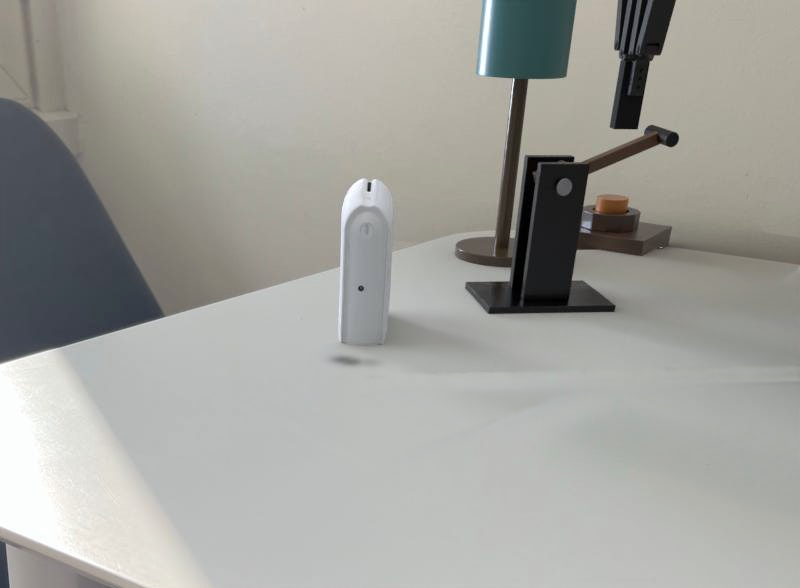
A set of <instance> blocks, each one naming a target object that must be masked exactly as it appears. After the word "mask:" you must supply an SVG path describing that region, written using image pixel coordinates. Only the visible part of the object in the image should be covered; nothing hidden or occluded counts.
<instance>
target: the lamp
mask: <svg viewBox="0 0 800 588" xmlns="http://www.w3.org/2000/svg"><path fill="white" fill-rule="evenodd" d="M577 2H578V0H482V2H481V14H480V25H479V34H478V45H477V46H478V47H477V58H476V67H475V74H476V75H478V76H482V77H489V78H499V79H511V89H510V97H509V105H508V115H507V124H506V132H505V144H504V151H503V160H502V170H501V178H500V179H501V180H500V189H499V197H498V206H497V216H496V225H495V233H494V236H478V237H477V236H476V237H470V238H469V237H468V238H463V239H461V240H459V241H457V242H456V243H455V246H454V247H455V248H454V256H455V257H456V258H457V259H458V260H461V261H463V262H466V263H470V264H474V265H480V266H486V267H495V268H511V266H512V257H513V249H514V241H515V237H511V232H512V231H511V230H512V222H513V216H514V215H513V214H514V206H515V197H516V190H517V189H516V187H517V181H518V171H519V164H520V163H519V162H520V156H521V155H520V154H521V146H522V139H523V138H522V137H523V131H524V130H523V129H524V120H525V113H526V112H525V111H526V104H527V95H528V86H529V80H555V79H557V80H558V79H565V78H567V77H568V69H569V63H570V62H569V61H570V54H571V47H572V39H573V34H574V33H573V31H574V27H575V26H574V25H575V18H576V11H577Z"/></svg>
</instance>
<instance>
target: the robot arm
mask: <svg viewBox="0 0 800 588" xmlns="http://www.w3.org/2000/svg"><path fill="white" fill-rule="evenodd" d="M676 2H677V0H617V8H616V17H615V19H616V20H615V30H614V41H613V42H614V43H613V50H614V51H615V52H617V51H618V58H619V59H620V62H619V67H618V75H617V79H616V86H615V92H614V98H613V104H612V109H611V116H610V121H609V128H610V129H613V130H638V129H639V125H640V119H641V114H642V109H643V101H644V97H645V92H646V87H647V80H648V74H649V70H650V63H651V62H652V61H653V60H654V58H655V57H657V56H661V55H662V53H663V49H664V46H665V42H666V39H667V35H668V32H669V27H670V24H671V21H672V17H673V13H674V10H675V6H676Z"/></svg>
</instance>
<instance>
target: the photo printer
mask: <svg viewBox="0 0 800 588" xmlns="http://www.w3.org/2000/svg"><path fill="white" fill-rule="evenodd" d="M340 217H341V218H340V219H341V220H340V261H339V262H340V263H339V264H340V265H339V295H338V297H339V299H338V320H337V325H338V327H337V328H338V329H337V330H338V331H337V332H338V340H339V342H340V344H348V345H352V346H362V347H364V346H365V347H366V346H367V347H369V346H376V345H384V343H385V342H386V340H387V333H388V325H389V313H390V299H391V287H392V265H393V264H392V263H393V245H394V244H393V243H394V242H393V241H394V225H395V221H394V220H395V205H394V198H393V195H392V193H391V191H390V189H389V188H388V187H387V185H386V184H384V182H383V181H381V180H380V179H378V178H374V179H372V180H371V181H370V180H368V179H367V178H360V179H358V180H357V181H356V182H355V183H353V184H352V185H351V186H350V188H349V189H348V190H347V191H346V194H345V196H344V199H343V203H342V207H341V216H340Z"/></svg>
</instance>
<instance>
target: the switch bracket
mask: <svg viewBox="0 0 800 588" xmlns="http://www.w3.org/2000/svg"><path fill="white" fill-rule="evenodd" d="M560 160H563V161H565V162H558V161H560ZM589 167H590V164H589V163H586V162H582V161H575V156H573V155H571V154H570V155H569V154H525V155H524V159H523V167H522V175H521V184H520V192H519V200H518V209H517V216H516V217H517V218H516V224H515V227H516V228H515V233H514V238H515V241H514V249H513V257H512V266H511V267H510V274H509V280H508V281H507V280H505V281H504V280H501V281H497V280H496V281H494V280H493V281H465V286H464V288H465V290H466V291H467V292H468V293H469V294H470V295H471V296H472V297H473V299H474V300H475V301H476V302H477V303H478V305H480V306H481V307H482V308H483V310H484V311H485V312H486V313H487V314H489V315H499V314H500V315H504V314H507V315H508V314H510V315H511V314H559V313H560V314H563V313H565V314H566V313H567V314H569V313H571V314H573V313H615V312H616V304H615V303H614V302H612V301H611V300H610V299H608V298H606V297H605V296H604V295H603V294H601V293H600V292H599V291H598V290H596V289H595V288H594V287H592V286H591V285H590V284H589V283H587V282H585V280H583V279H581V280H579V279H577V280H575V279H573V277H574V271H575V270H574V269H575V263H576V256H577V251H578V250H577V244H578V238H579V231H580V225H581V218H582V212H583V207H584V205H585V199H586V191H587V185H588V178H589V174H588V173H589ZM536 170H537V175H536V183H535V181H534V177H533V172H534V171H536Z"/></svg>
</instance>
